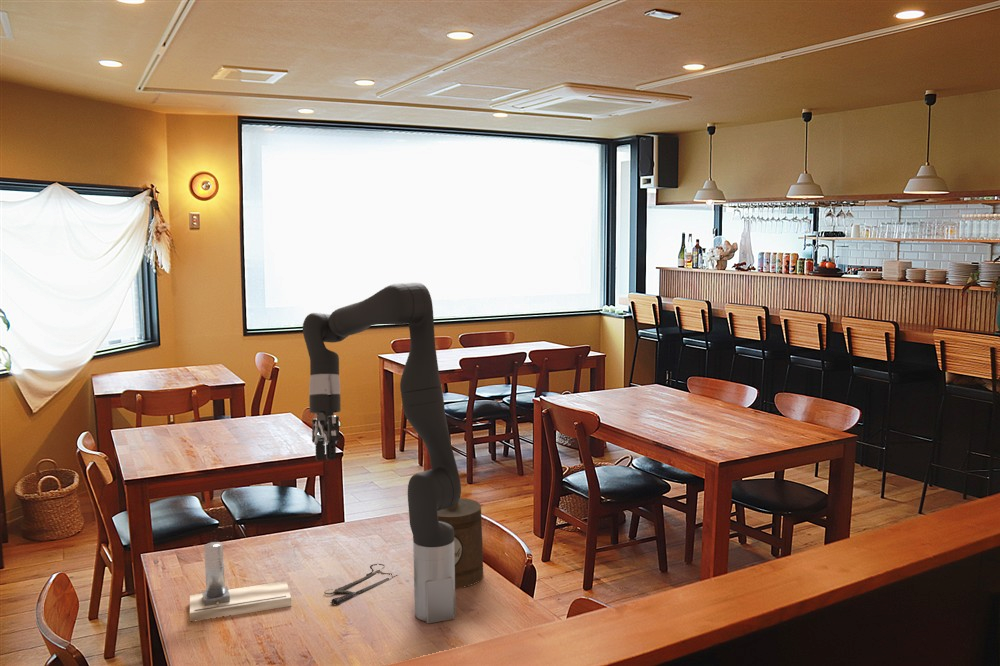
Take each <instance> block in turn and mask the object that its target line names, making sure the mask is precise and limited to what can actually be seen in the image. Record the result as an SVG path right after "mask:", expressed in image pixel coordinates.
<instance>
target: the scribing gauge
mask: <svg viewBox="0 0 1000 666" xmlns="http://www.w3.org/2000/svg"><path fill="white" fill-rule="evenodd" d="M223 544H224V543H222V541H221V542H220V541H211V542H208V543H206V544H204V547H203V548H204V566H205V567H204V569H205V584H206V585H205V586H206V589H204V590H202V593H203V601H204V605H205V606H209V605H215V604H217V605H219V604H221V603H226V602H230V595H229V591H228V590H229V589H228V586H226V584H225V565H224V564H225V563H224V545H223ZM202 593H201V594H202Z"/></svg>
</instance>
